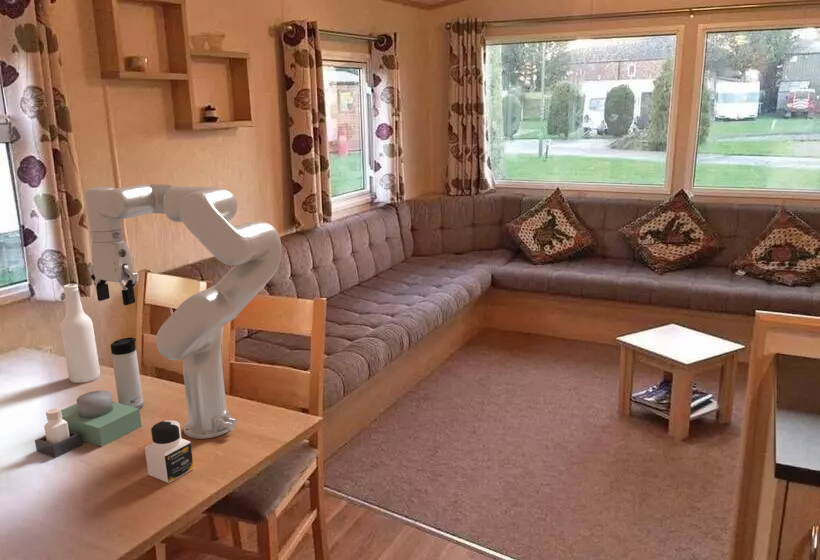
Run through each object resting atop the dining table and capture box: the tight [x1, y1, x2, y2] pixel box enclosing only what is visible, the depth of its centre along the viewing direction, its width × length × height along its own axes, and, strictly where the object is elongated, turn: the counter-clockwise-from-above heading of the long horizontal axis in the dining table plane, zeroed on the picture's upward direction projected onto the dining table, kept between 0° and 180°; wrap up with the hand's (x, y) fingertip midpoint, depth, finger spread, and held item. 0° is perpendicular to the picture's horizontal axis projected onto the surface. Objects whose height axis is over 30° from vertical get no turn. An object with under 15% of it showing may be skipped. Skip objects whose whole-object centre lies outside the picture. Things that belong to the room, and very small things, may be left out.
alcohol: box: [60, 283, 101, 384], centre depth 201 cm, size 9×9×30 cm
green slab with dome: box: [61, 390, 143, 448], centre depth 170 cm, size 18×12×9 cm, turn 62°
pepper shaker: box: [43, 407, 70, 444], centre depth 161 cm, size 4×4×10 cm
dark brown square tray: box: [34, 430, 83, 459], centre depth 161 cm, size 7×7×3 cm
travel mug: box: [110, 337, 144, 410], centre depth 181 cm, size 6×7×20 cm
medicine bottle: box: [144, 419, 194, 484], centre depth 148 cm, size 7×7×12 cm
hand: (116, 301), depth 170 cm, fingers open, 9 cm apart
